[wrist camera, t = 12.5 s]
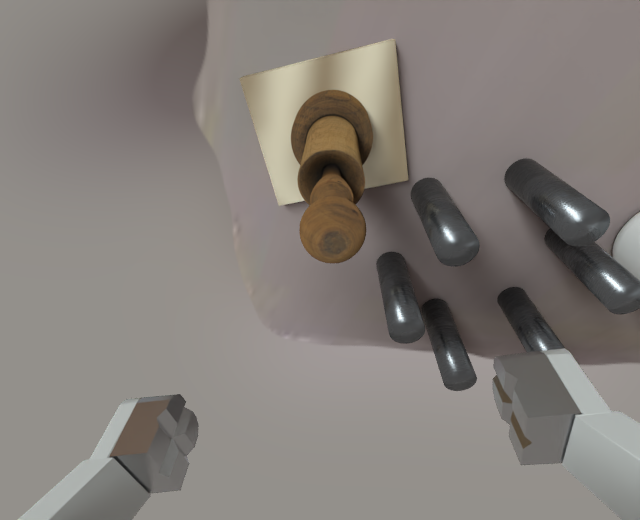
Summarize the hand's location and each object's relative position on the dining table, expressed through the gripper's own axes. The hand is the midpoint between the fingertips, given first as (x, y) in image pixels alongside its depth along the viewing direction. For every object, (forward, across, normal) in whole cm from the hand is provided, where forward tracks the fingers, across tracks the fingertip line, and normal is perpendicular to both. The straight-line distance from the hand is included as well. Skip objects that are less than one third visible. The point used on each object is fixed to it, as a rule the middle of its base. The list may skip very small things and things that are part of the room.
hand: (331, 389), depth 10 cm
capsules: (+26, -12, +15) cm, 33 cm away
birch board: (+26, 0, 0) cm, 26 cm away
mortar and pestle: (+25, 0, 0) cm, 25 cm away
